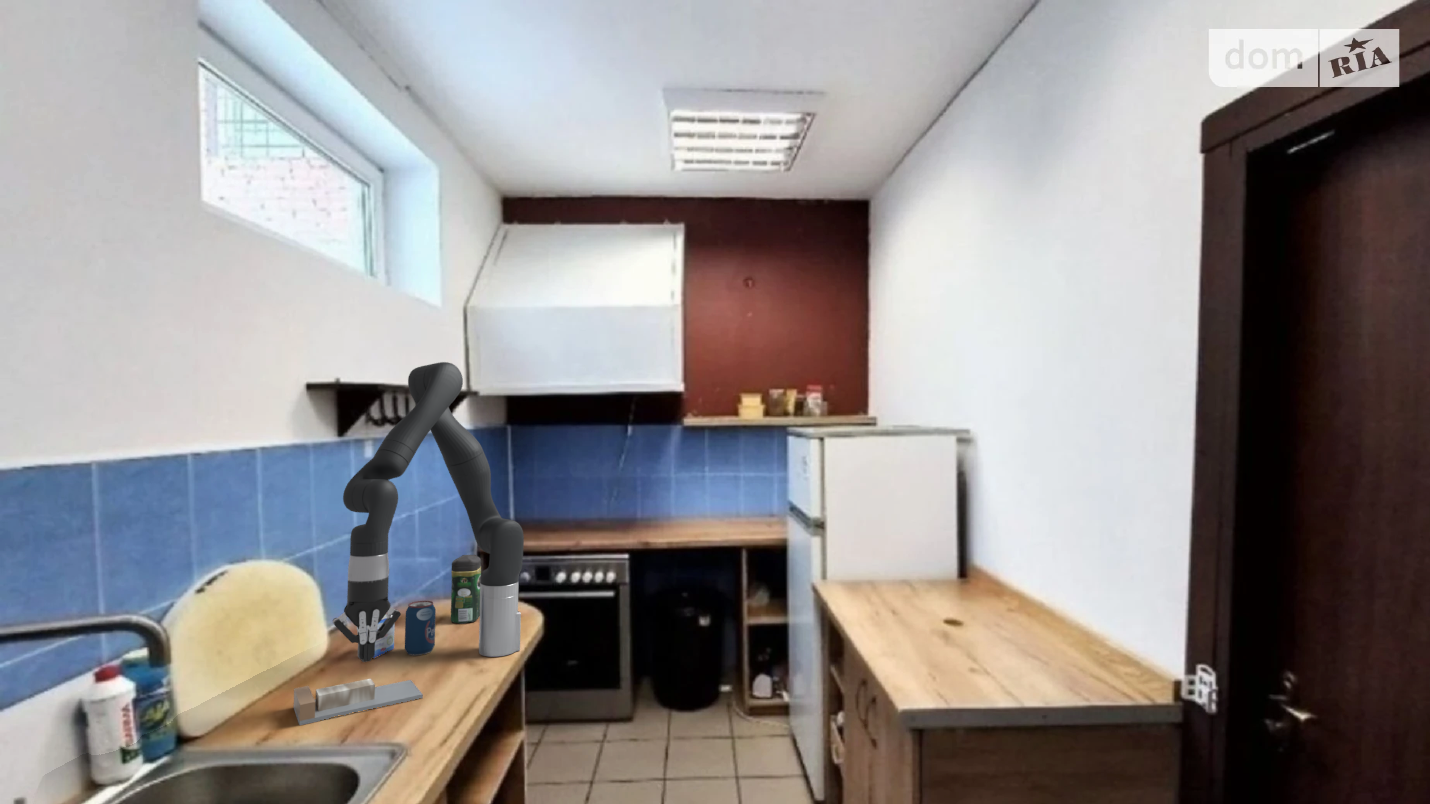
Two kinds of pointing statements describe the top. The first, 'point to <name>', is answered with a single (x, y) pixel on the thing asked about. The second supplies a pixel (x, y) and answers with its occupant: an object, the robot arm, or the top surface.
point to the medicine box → (383, 639)
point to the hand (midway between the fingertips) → (366, 660)
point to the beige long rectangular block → (344, 694)
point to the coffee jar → (465, 589)
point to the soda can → (420, 628)
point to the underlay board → (383, 697)
